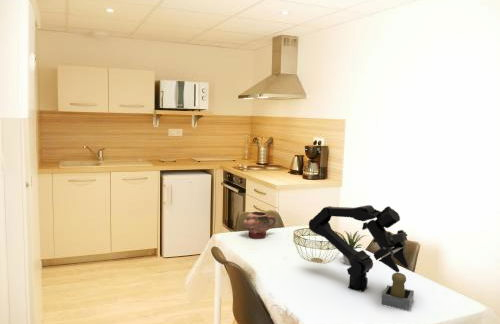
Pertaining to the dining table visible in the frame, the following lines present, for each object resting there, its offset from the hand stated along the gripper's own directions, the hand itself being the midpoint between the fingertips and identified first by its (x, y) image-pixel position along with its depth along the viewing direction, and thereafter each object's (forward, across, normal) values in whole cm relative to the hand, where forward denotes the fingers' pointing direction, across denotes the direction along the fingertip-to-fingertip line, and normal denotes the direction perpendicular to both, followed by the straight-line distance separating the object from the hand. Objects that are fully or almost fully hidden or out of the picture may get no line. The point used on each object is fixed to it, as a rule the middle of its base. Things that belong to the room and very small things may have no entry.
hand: (403, 269), depth 158 cm
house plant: (-14, +27, +33) cm, 45 cm away
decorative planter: (-54, +29, +78) cm, 99 cm away
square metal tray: (+9, 0, +10) cm, 14 cm away
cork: (+9, 0, +10) cm, 13 cm away
